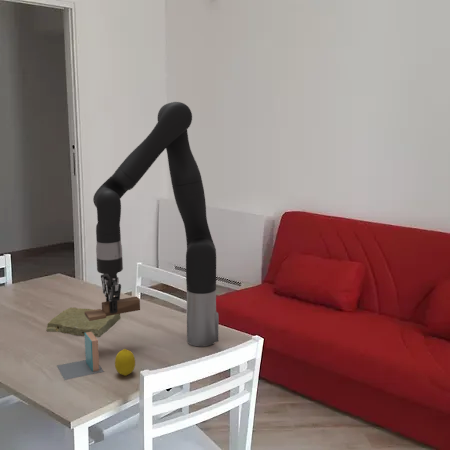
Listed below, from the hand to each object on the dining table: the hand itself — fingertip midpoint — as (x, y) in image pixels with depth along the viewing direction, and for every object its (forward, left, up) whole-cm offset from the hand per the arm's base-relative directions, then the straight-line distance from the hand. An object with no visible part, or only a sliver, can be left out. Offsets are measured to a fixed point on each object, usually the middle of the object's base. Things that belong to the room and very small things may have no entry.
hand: (111, 310), depth 175 cm
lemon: (+2, +18, -13) cm, 23 cm away
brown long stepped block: (0, 0, -1) cm, 1 cm away
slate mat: (+12, +9, -13) cm, 20 cm away
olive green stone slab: (+3, -25, -14) cm, 29 cm away
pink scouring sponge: (+9, +9, -12) cm, 18 cm away
